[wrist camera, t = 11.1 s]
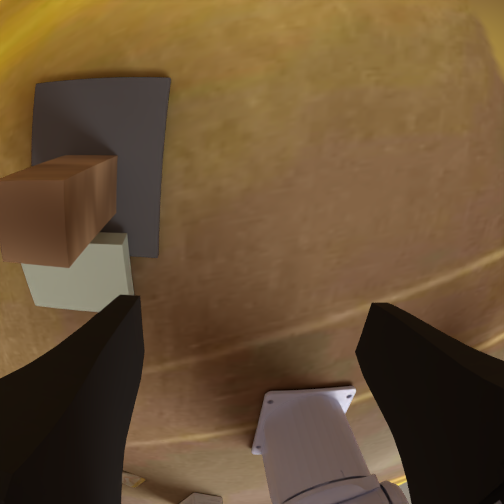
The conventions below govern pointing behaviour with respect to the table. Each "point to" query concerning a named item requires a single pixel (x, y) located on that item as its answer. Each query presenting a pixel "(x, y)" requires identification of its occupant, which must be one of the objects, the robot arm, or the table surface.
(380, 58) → the table surface
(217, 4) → the table surface
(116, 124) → the mat
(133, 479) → the snack bar
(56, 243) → the oak push block
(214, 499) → the skincare box
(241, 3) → the table surface
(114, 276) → the sage tile
